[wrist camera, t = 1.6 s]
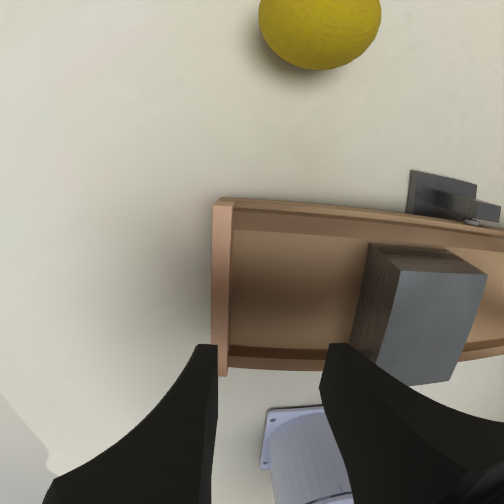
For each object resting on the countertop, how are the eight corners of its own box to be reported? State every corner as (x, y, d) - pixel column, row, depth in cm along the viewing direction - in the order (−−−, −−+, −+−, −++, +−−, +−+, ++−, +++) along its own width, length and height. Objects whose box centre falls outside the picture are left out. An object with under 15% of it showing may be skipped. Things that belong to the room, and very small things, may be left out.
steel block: (420, 341, 16) (448, 380, 12) (348, 344, 16) (366, 389, 13) (446, 249, 14) (488, 275, 11) (368, 242, 15) (401, 270, 11)
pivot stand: (431, 347, 22) (461, 380, 17) (373, 354, 22) (400, 395, 17) (470, 183, 18) (517, 194, 13) (410, 170, 17) (459, 178, 13)
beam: (518, 336, 18) (538, 354, 15) (219, 344, 19) (211, 378, 16) (549, 234, 15) (575, 246, 12) (223, 192, 16) (213, 200, 13)
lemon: (334, 8, 14) (389, -55, 6) (349, 84, 16) (425, 48, 8) (246, 7, 14) (260, -72, 6) (258, 87, 15) (283, 35, 8)
